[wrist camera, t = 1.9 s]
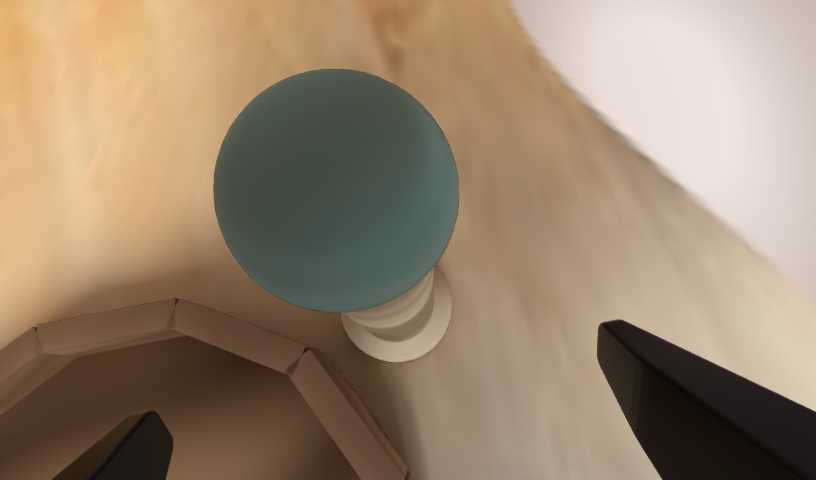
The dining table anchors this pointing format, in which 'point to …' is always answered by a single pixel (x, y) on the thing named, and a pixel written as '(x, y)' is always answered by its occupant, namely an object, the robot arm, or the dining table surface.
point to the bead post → (344, 206)
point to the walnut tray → (185, 398)
